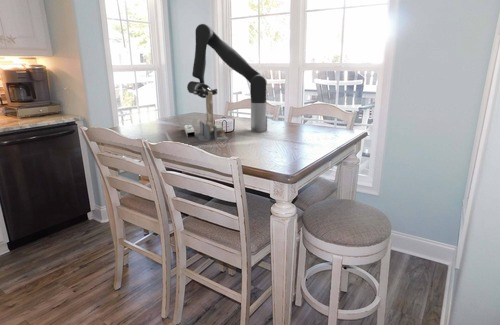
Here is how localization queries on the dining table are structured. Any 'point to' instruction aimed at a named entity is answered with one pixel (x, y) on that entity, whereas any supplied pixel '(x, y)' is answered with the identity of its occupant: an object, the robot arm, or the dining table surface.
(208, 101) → the brown wooden board
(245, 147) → the dining table surface
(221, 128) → the offcut
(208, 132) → the rack
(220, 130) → the offcut
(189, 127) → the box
